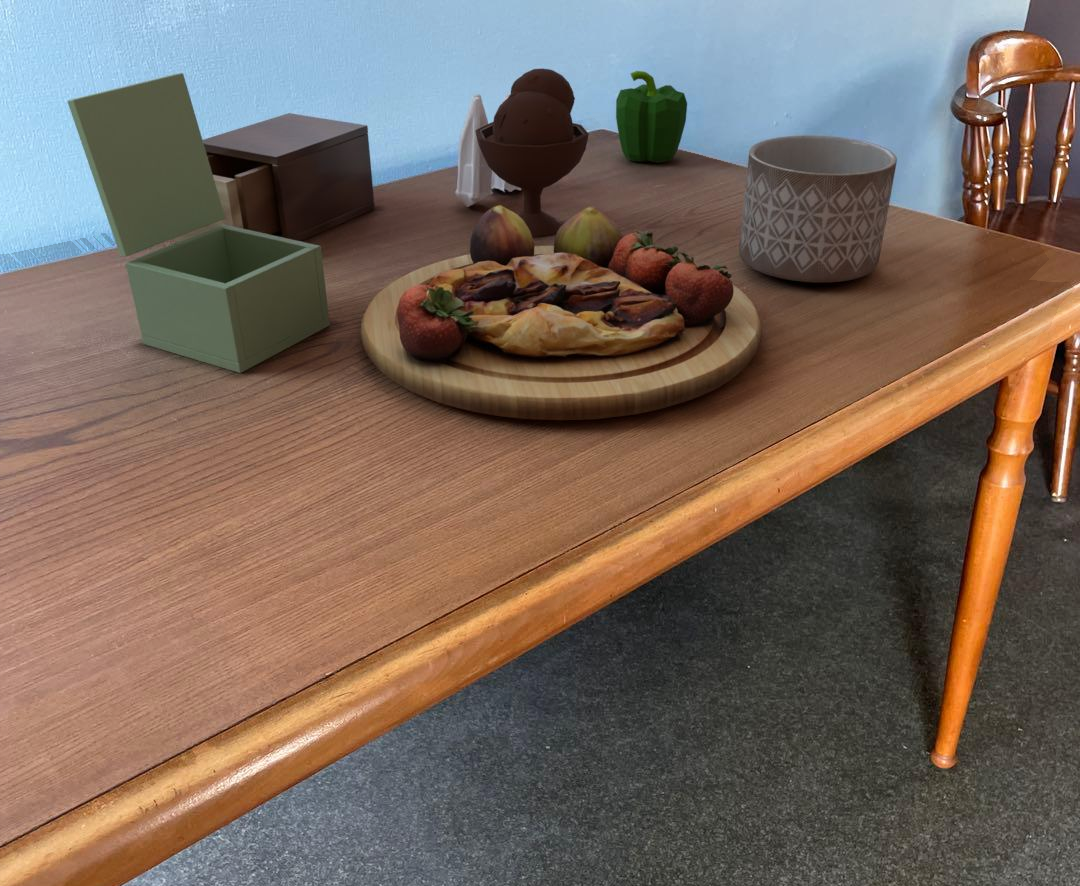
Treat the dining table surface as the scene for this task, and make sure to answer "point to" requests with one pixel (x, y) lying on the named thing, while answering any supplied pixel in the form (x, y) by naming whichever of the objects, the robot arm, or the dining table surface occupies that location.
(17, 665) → the dining table surface
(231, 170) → the drawer
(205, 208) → the chest lid
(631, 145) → the bell pepper
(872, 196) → the planter
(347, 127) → the cabinet
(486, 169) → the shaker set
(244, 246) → the chest
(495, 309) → the wooden plate
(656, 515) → the dining table surface
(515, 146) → the ice cream bowl
